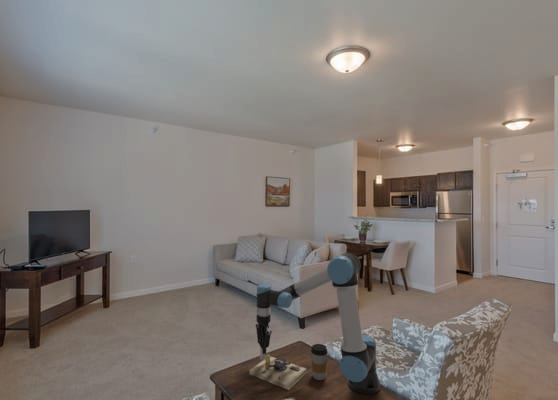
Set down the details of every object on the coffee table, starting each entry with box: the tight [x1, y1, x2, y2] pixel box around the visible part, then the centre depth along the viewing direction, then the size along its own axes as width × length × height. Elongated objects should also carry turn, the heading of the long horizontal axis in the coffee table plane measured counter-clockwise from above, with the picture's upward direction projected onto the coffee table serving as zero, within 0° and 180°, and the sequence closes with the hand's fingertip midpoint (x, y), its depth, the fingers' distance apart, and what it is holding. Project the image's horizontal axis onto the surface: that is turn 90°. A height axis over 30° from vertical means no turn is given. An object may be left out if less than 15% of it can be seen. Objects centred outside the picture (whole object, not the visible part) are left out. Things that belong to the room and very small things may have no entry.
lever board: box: [248, 355, 308, 391], centre depth 153 cm, size 24×18×4 cm
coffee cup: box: [310, 343, 328, 381], centre depth 150 cm, size 8×8×15 cm
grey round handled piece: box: [265, 353, 291, 370], centre depth 154 cm, size 14×9×7 cm, turn 105°
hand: (263, 358), depth 157 cm, fingers closed
